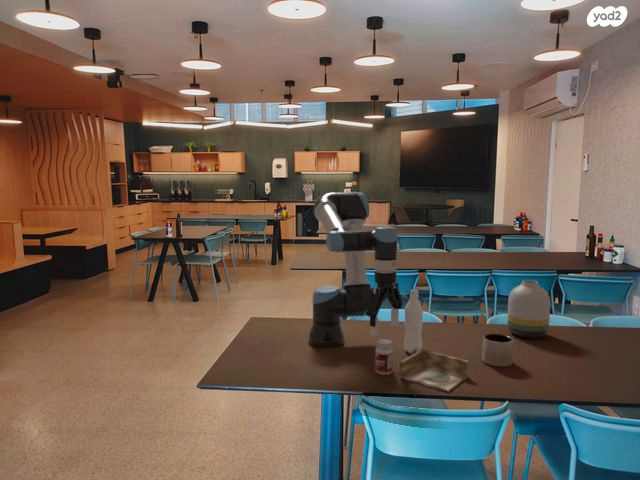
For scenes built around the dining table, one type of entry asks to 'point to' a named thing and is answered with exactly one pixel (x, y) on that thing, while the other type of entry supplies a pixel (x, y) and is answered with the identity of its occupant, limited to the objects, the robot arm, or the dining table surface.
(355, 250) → the robot arm
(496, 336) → the planter
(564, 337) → the dining table surface
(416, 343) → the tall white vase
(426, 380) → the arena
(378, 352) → the pill bottle
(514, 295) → the vase
